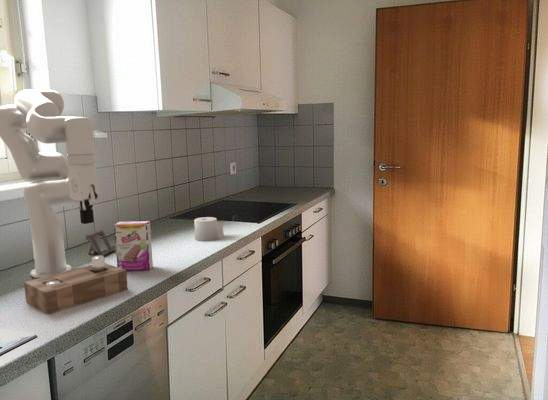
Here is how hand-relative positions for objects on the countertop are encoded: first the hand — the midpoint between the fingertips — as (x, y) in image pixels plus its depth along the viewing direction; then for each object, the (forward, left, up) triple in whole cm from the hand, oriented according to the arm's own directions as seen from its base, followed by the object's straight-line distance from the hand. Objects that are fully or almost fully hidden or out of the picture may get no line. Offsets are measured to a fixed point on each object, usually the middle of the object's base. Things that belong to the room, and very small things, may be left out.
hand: (87, 222), depth 142 cm
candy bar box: (-9, +20, -21) cm, 31 cm away
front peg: (0, -12, -21) cm, 24 cm away
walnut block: (0, -5, -21) cm, 22 cm away
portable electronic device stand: (-38, +23, -21) cm, 49 cm away
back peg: (0, +2, -17) cm, 17 cm away
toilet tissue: (-21, +64, -21) cm, 71 cm away
